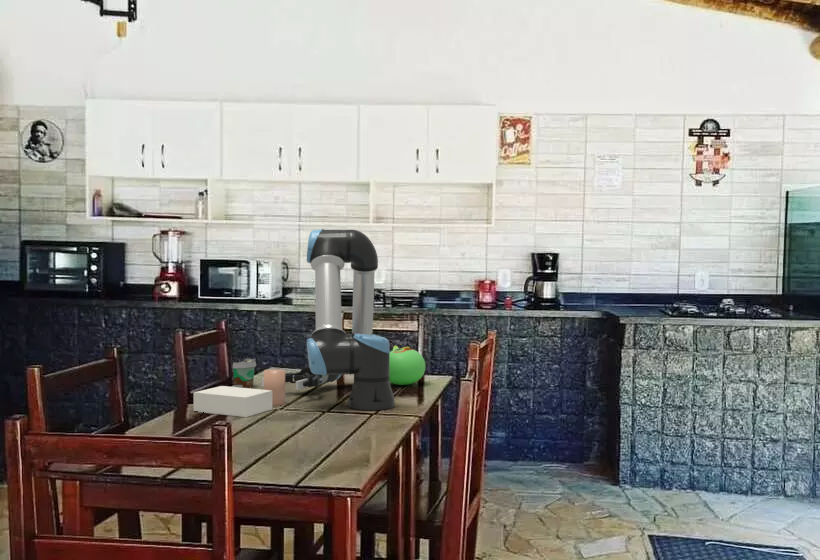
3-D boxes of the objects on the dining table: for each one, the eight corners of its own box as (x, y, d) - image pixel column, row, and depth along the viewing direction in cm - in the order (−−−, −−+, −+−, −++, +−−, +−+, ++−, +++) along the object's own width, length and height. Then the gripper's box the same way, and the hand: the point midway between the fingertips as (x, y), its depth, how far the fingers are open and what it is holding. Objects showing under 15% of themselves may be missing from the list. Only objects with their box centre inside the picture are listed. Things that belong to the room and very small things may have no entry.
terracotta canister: (289, 402, 276) (289, 369, 275) (277, 406, 269) (277, 372, 269) (271, 401, 279) (271, 368, 278) (259, 404, 272) (259, 371, 272)
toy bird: (409, 389, 302) (409, 349, 301) (370, 385, 310) (370, 346, 310) (433, 383, 317) (433, 345, 317) (395, 379, 326) (395, 342, 325)
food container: (248, 390, 299) (248, 363, 298) (232, 390, 300) (232, 362, 299) (261, 385, 311) (261, 358, 310) (246, 384, 312) (246, 358, 312)
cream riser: (272, 409, 264) (272, 390, 264) (246, 417, 251) (245, 397, 251) (221, 404, 273) (221, 385, 272) (193, 411, 260) (193, 392, 260)
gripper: (343, 388, 291) (311, 398, 272) (284, 383, 302) (248, 392, 283) (343, 367, 291) (311, 375, 272) (284, 362, 302) (248, 370, 283)
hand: (279, 384), depth 277 cm, fingers open, 13 cm apart
